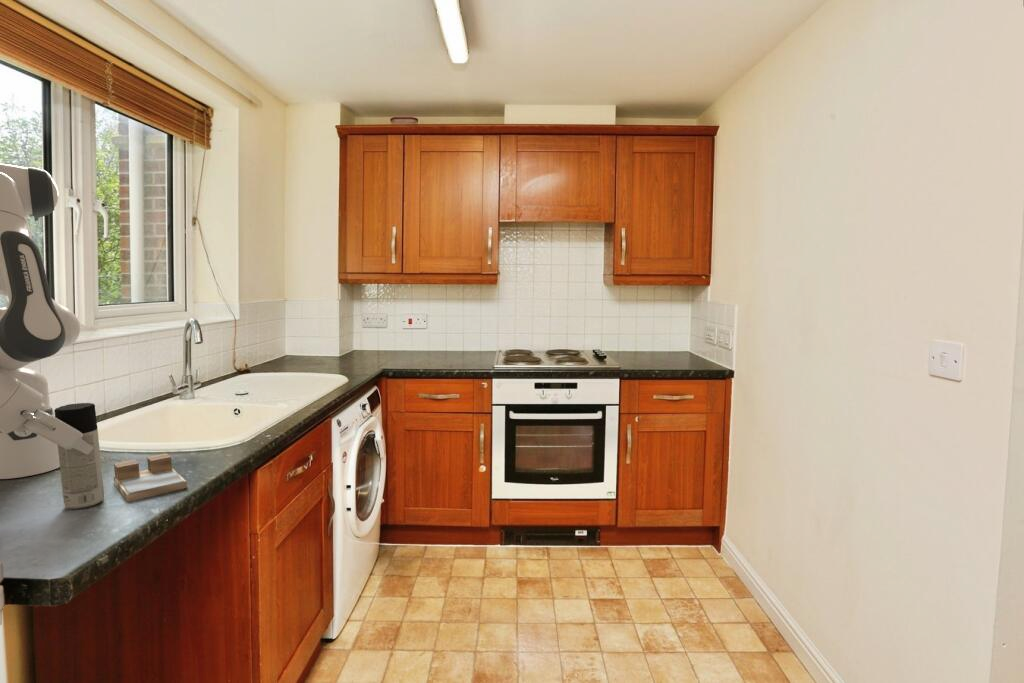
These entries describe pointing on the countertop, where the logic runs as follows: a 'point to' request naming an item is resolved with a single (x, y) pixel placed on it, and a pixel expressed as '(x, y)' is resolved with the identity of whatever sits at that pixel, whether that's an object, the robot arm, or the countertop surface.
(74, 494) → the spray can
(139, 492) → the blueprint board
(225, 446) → the countertop surface
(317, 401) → the countertop surface
